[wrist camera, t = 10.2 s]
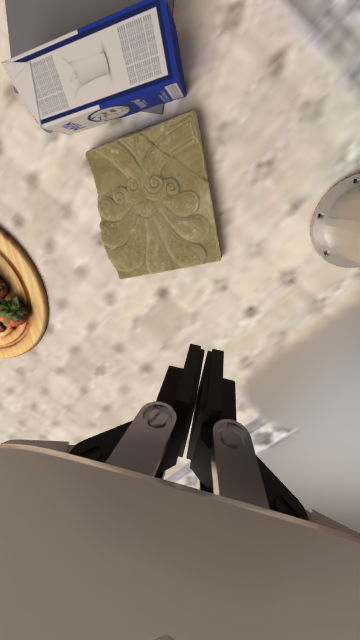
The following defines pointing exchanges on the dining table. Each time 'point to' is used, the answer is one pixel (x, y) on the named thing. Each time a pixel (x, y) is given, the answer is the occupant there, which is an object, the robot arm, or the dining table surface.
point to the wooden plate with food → (20, 300)
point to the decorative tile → (155, 199)
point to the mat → (58, 22)
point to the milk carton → (102, 70)
